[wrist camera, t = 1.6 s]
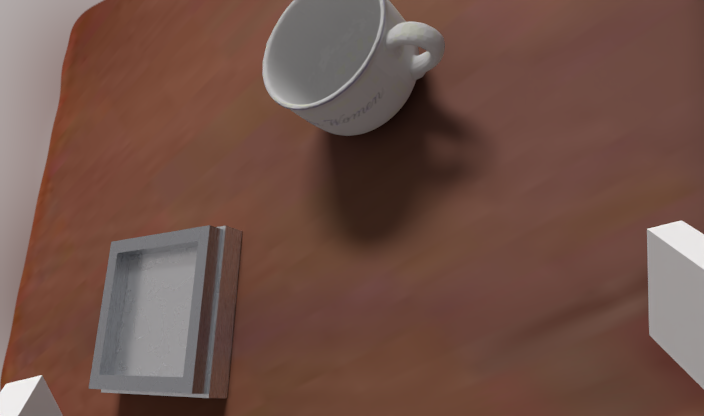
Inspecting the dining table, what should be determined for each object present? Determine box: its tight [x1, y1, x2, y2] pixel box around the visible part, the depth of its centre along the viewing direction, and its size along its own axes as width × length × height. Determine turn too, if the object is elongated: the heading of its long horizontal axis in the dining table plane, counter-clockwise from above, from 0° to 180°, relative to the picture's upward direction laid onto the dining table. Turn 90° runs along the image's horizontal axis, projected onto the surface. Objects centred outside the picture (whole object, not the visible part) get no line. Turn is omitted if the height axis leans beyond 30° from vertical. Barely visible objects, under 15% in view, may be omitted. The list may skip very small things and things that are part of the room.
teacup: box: [263, 0, 445, 136], centre depth 44 cm, size 14×11×8 cm
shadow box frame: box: [89, 225, 242, 398], centre depth 53 cm, size 14×14×4 cm
